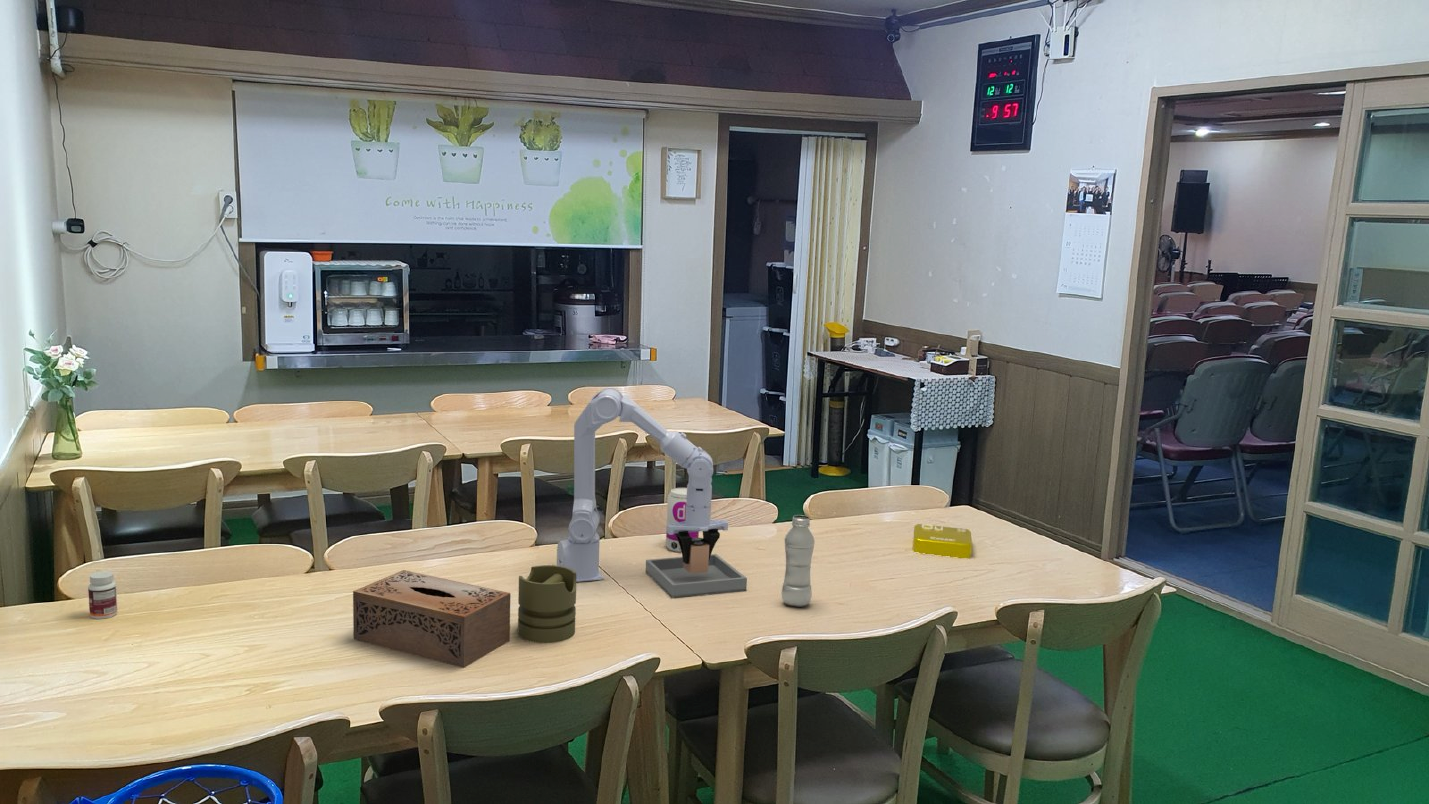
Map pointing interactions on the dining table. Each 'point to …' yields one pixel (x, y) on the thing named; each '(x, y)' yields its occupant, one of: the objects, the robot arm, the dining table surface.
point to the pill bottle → (102, 595)
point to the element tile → (942, 541)
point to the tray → (695, 577)
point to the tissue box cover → (432, 617)
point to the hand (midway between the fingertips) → (695, 561)
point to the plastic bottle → (798, 563)
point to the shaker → (698, 556)
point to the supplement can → (676, 516)
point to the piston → (547, 604)
